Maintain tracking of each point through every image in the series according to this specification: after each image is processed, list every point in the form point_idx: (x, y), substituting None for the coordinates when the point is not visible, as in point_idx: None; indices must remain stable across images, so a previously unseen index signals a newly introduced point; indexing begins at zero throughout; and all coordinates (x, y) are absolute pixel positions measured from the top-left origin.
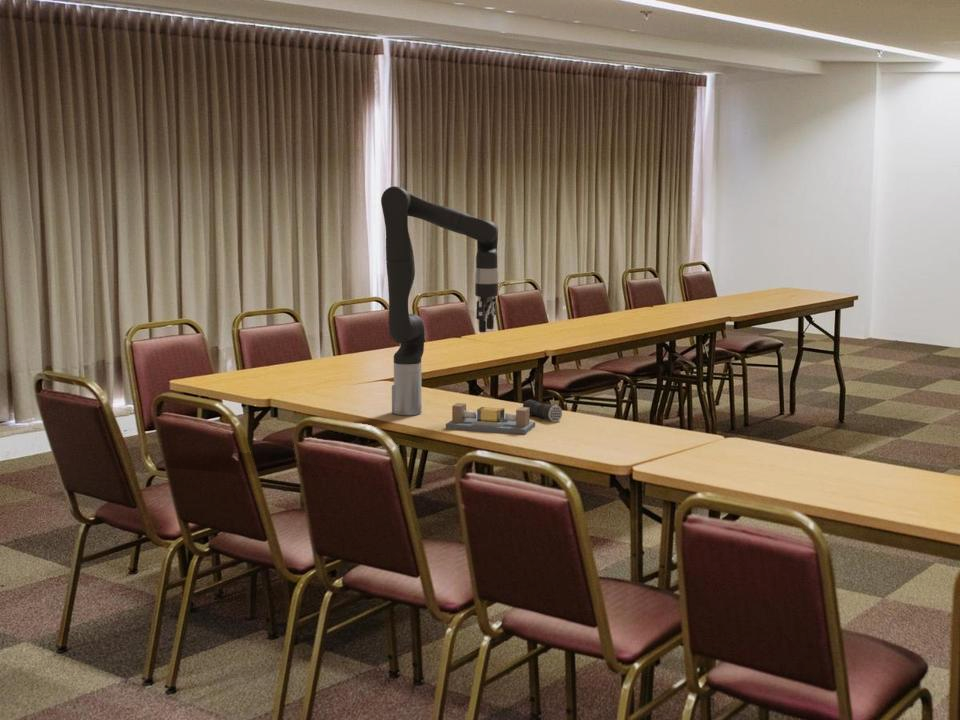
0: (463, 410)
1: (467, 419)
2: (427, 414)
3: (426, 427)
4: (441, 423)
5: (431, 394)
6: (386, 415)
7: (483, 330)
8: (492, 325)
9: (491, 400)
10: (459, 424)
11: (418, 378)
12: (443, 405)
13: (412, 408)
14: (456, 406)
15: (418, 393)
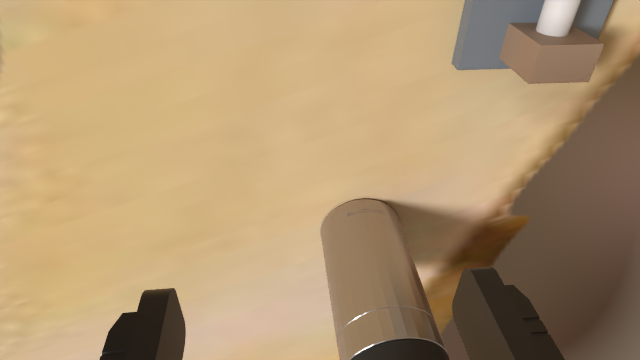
0: (563, 36)
1: (509, 17)
2: (362, 181)
3: (553, 120)
4: (492, 100)
5: (62, 270)
6: None
7: (514, 288)
8: (163, 327)
9: (11, 72)
10: (599, 17)
11: (402, 287)
12: (208, 189)
13: (396, 221)
14: (595, 64)
15: (389, 246)
